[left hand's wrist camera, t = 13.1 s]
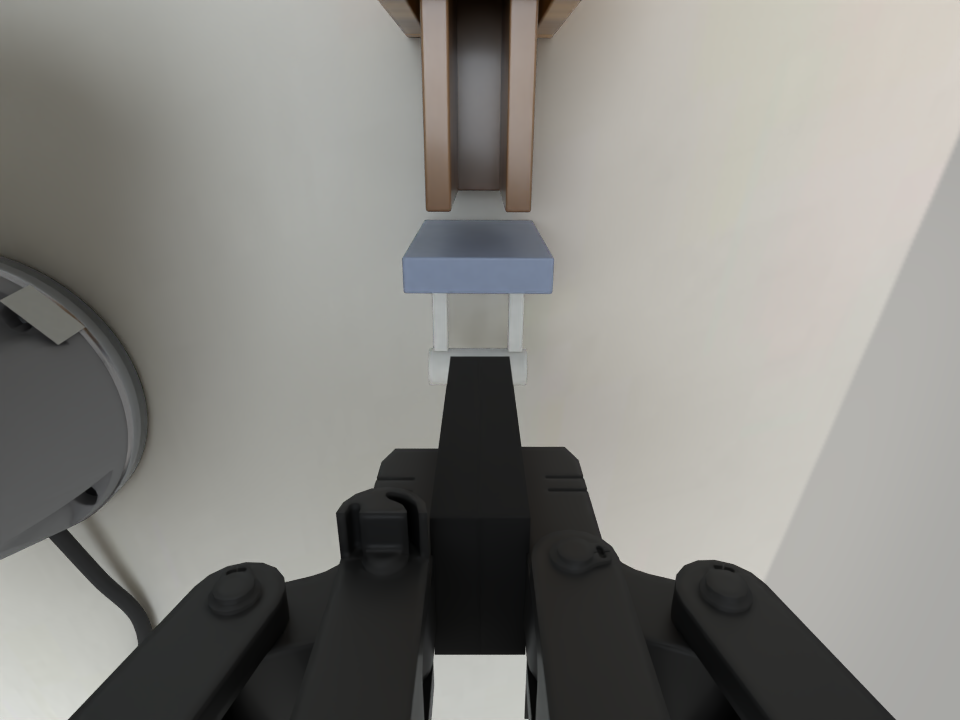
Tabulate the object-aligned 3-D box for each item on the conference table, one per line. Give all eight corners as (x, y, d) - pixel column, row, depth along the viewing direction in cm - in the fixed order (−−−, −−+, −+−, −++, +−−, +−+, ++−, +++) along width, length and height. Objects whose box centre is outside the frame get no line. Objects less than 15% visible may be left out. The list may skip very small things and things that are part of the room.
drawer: (527, 353, 28) (545, 434, 21) (428, 352, 28) (409, 433, 21) (552, -294, 20) (597, -555, 12) (409, -295, 20) (365, -557, 12)
